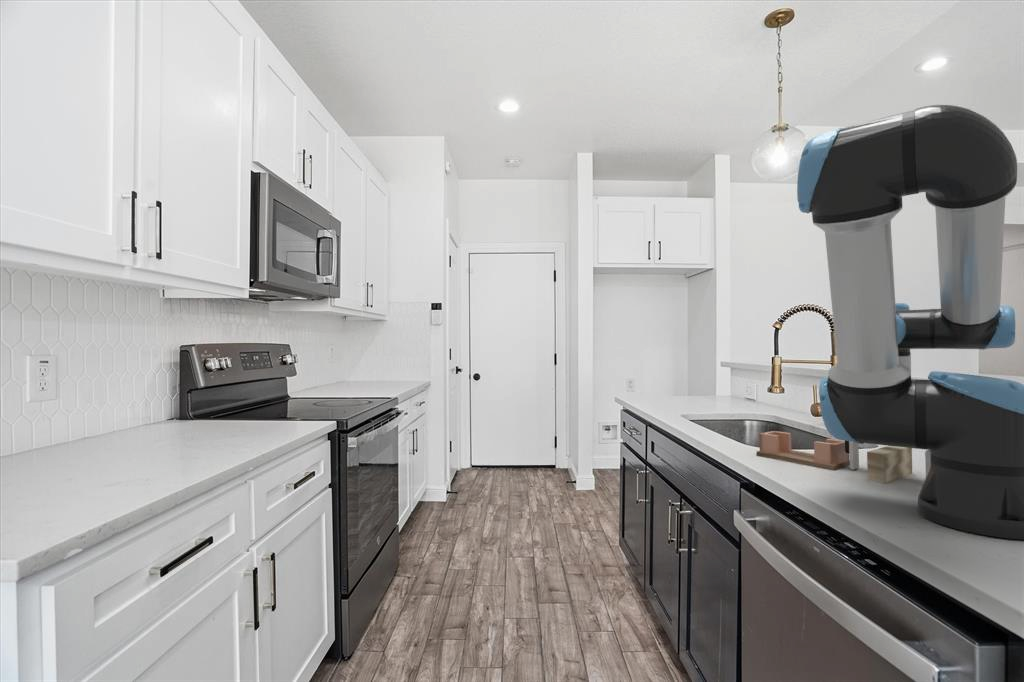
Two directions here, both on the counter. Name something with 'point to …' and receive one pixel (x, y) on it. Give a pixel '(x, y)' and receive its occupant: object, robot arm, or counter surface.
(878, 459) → the birch slat
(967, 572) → the counter surface
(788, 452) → the board
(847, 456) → the brown slotted stand
